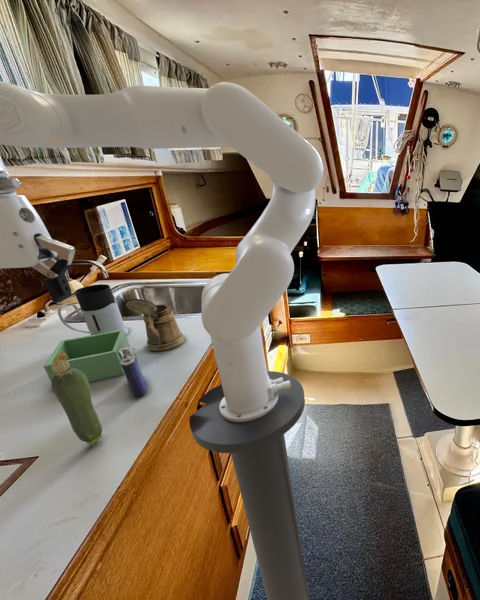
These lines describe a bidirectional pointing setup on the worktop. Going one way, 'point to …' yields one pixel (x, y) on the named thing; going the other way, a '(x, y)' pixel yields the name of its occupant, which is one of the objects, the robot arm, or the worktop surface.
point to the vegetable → (76, 399)
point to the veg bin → (92, 355)
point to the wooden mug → (158, 324)
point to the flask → (133, 372)
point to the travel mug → (97, 310)
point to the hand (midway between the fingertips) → (26, 300)
